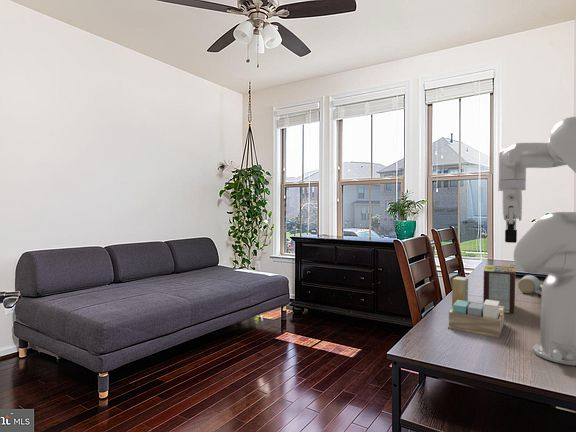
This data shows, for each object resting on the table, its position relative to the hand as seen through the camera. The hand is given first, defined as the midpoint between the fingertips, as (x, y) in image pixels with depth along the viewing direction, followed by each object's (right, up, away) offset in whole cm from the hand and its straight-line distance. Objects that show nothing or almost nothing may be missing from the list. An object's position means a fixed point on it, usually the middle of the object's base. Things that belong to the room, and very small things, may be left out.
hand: (510, 242), depth 119 cm
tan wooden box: (-10, -28, +2) cm, 30 cm away
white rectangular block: (-8, -24, -2) cm, 25 cm away
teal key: (-15, -26, +3) cm, 30 cm away
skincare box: (-7, -28, +21) cm, 36 cm away
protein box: (+10, -28, +24) cm, 38 cm away
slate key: (-11, -26, 0) cm, 28 cm away
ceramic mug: (+40, -27, +49) cm, 69 cm away
